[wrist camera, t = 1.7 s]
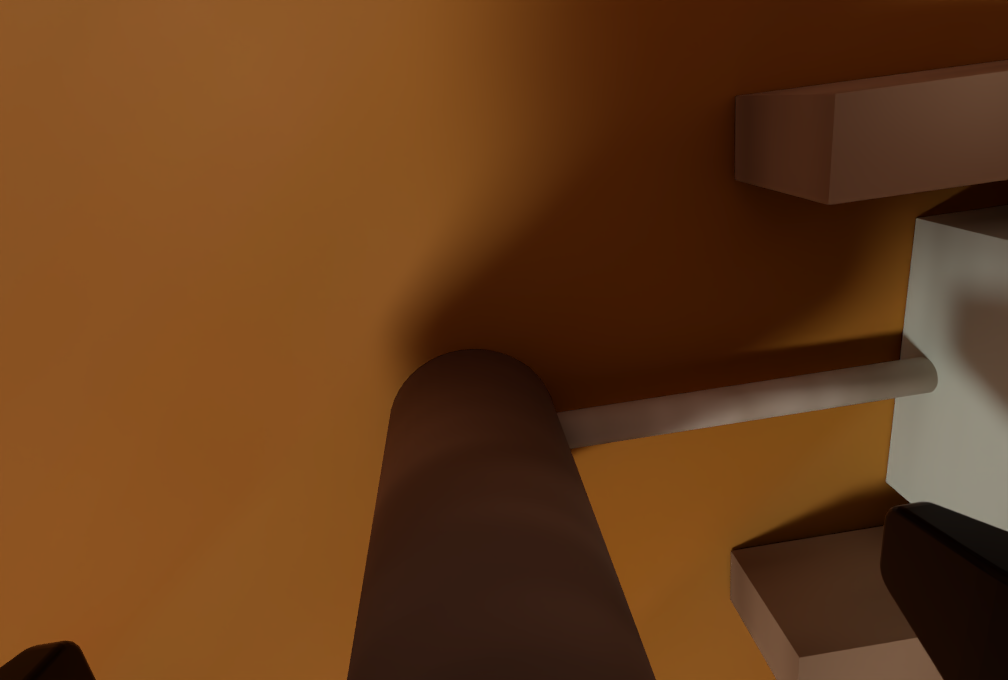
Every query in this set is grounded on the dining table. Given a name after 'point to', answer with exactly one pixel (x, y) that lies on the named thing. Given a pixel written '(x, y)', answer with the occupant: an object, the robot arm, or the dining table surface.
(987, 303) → the block with cord
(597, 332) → the dining table surface
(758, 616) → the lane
